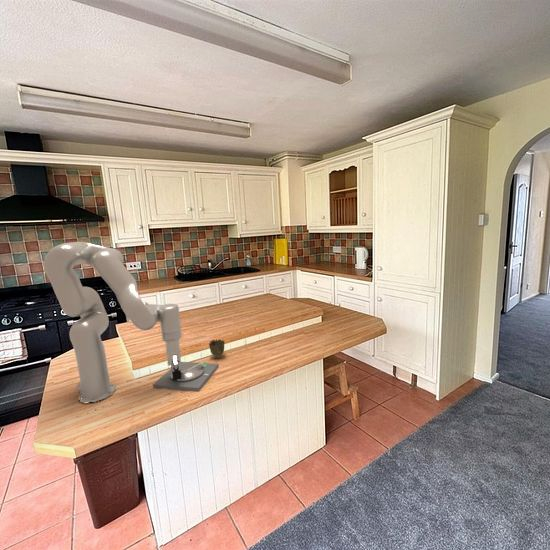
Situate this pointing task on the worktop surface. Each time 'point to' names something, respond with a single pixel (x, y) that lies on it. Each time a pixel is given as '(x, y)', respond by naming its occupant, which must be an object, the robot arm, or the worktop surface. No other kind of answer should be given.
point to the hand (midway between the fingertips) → (176, 374)
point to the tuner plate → (191, 385)
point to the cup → (217, 348)
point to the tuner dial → (190, 371)
